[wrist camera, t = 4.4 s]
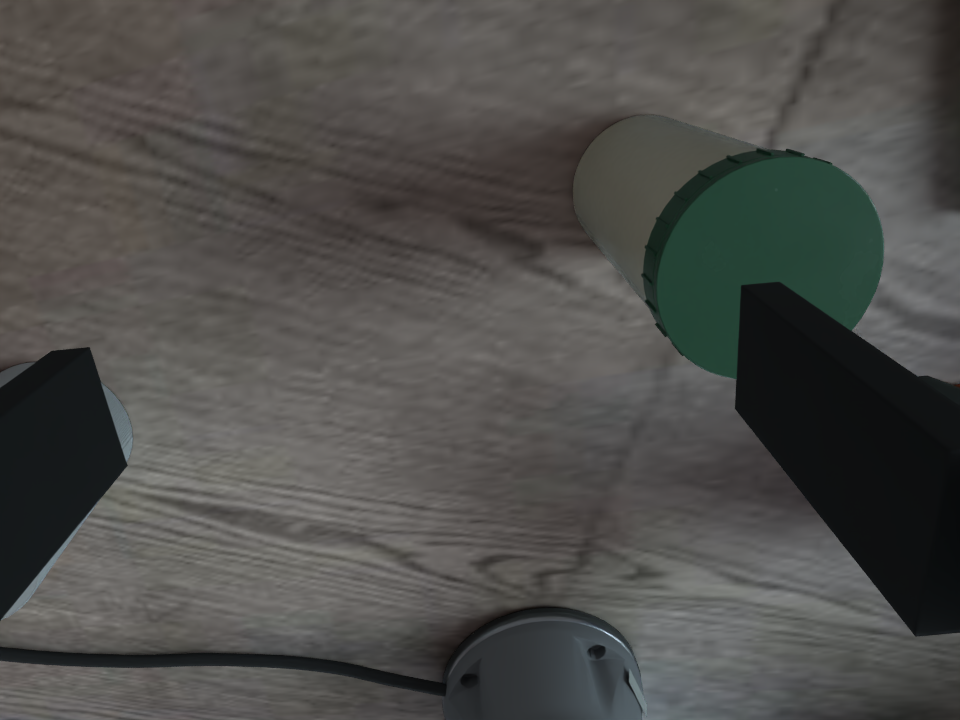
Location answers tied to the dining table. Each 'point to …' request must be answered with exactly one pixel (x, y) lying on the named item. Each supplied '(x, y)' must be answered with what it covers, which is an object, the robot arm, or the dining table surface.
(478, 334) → the dining table surface
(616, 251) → the jar
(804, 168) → the lid
